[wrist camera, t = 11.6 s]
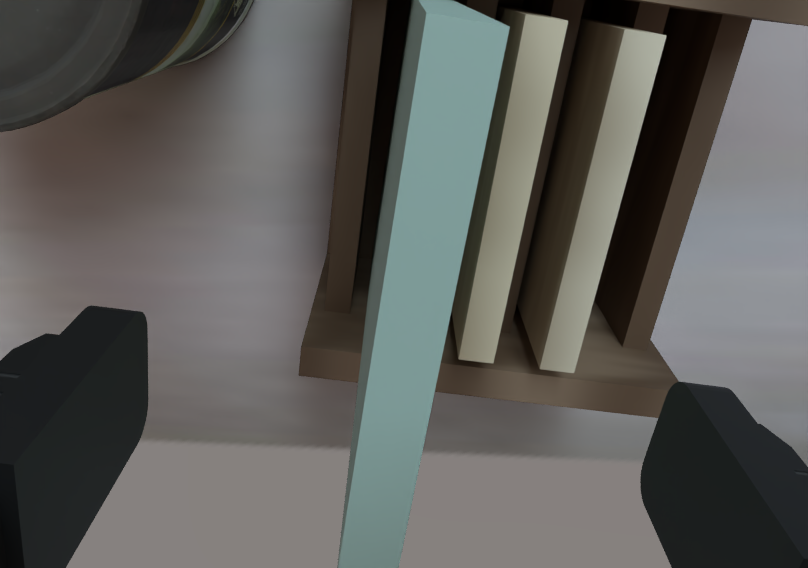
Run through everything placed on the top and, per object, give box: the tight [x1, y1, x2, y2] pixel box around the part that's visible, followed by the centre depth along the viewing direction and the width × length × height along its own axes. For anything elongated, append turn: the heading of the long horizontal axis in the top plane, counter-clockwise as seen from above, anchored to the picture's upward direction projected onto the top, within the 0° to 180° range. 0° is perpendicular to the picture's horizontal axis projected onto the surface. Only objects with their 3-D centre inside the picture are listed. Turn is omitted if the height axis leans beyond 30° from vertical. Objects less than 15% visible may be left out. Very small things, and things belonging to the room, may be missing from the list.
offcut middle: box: [517, 17, 666, 373], centre depth 26 cm, size 1×11×10 cm, turn 172°
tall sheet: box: [337, 0, 510, 568], centre depth 21 cm, size 1×11×20 cm, turn 171°
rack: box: [299, 0, 808, 418], centre depth 27 cm, size 14×15×10 cm
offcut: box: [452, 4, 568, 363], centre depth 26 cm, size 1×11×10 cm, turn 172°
